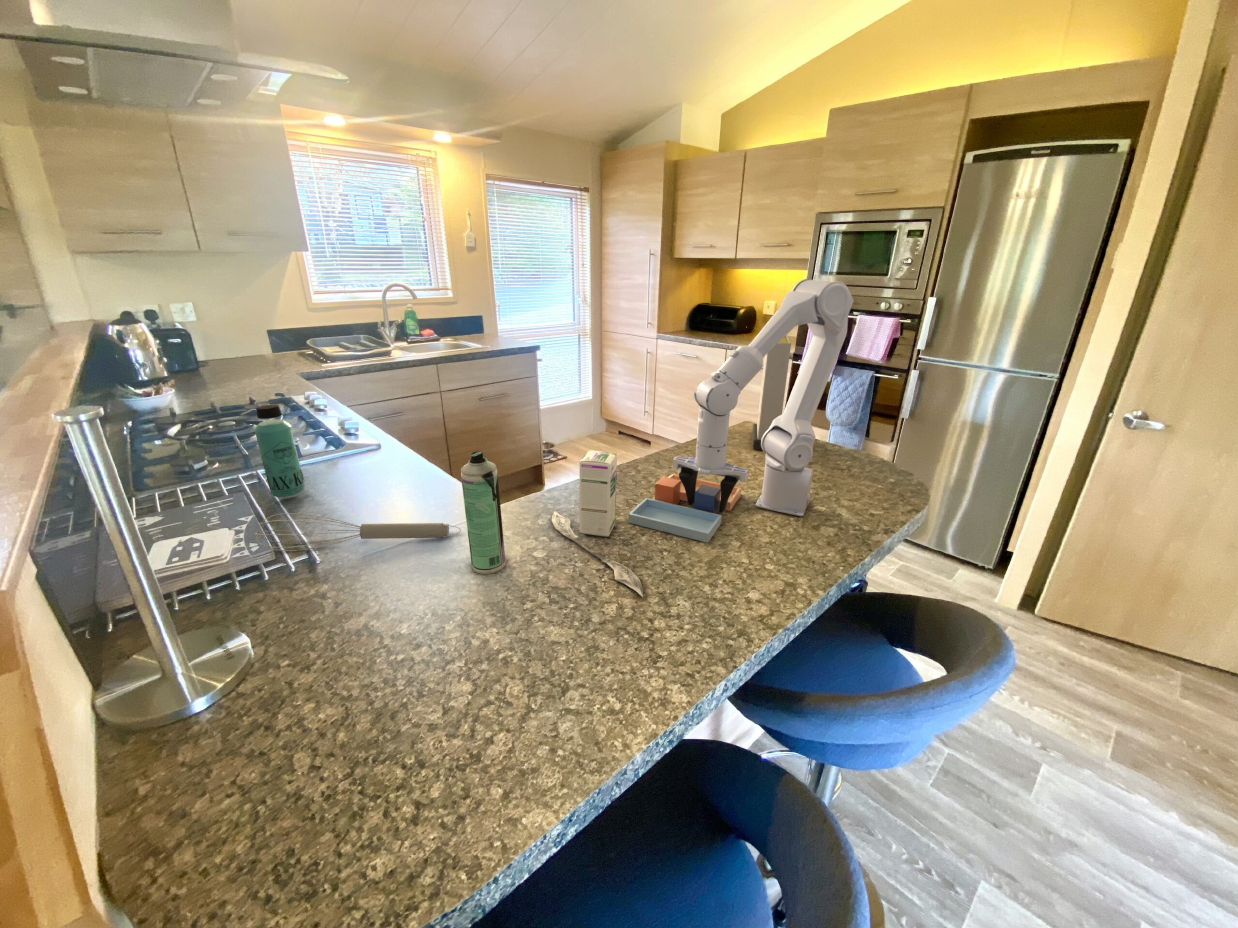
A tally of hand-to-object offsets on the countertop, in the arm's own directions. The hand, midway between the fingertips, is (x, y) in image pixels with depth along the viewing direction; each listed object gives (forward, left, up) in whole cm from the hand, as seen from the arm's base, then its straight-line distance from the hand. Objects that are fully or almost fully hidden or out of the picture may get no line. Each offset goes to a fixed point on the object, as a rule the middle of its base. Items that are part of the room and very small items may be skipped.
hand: (706, 506), depth 103 cm
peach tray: (+4, -7, -1) cm, 8 cm away
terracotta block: (+8, 0, -1) cm, 9 cm away
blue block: (0, 0, -1) cm, 1 cm away
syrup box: (+16, +16, -1) cm, 23 cm away
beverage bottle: (+80, +35, -2) cm, 87 cm away
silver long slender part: (+13, +23, -2) cm, 26 cm away
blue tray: (+4, +7, -1) cm, 8 cm away
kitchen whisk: (+51, +40, -2) cm, 65 cm away
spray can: (+26, +35, -2) cm, 44 cm away
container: (-1, -48, -2) cm, 48 cm away
